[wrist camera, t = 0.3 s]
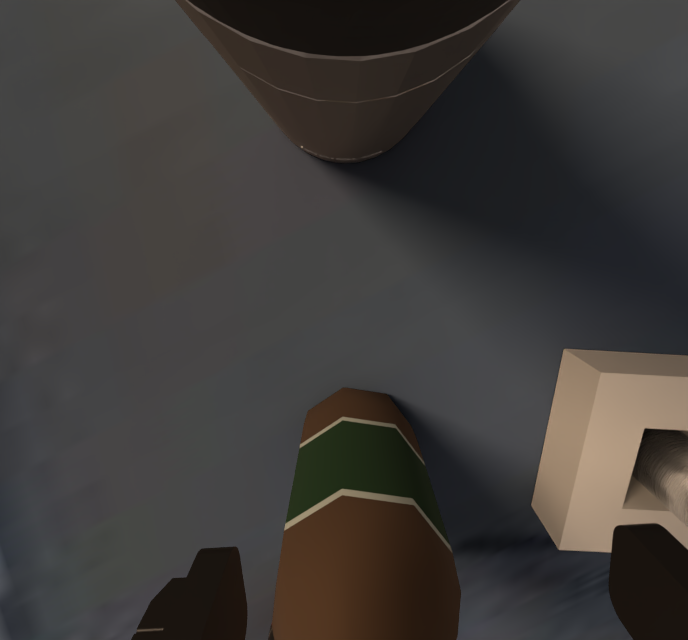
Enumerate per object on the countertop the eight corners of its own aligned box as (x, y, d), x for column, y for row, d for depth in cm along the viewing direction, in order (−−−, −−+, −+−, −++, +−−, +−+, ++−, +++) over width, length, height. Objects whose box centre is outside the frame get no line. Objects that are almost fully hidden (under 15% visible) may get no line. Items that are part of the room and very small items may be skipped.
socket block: (563, 348, 27) (600, 372, 23) (746, 358, 27) (814, 384, 23) (531, 505, 30) (558, 549, 26) (694, 513, 30) (746, 559, 26)
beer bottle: (286, 395, 28) (-18, 1380, 4) (400, 371, 27) (729, 1329, 4) (315, 492, 30) (210, 1520, 6) (422, 471, 29) (725, 1498, 6)
